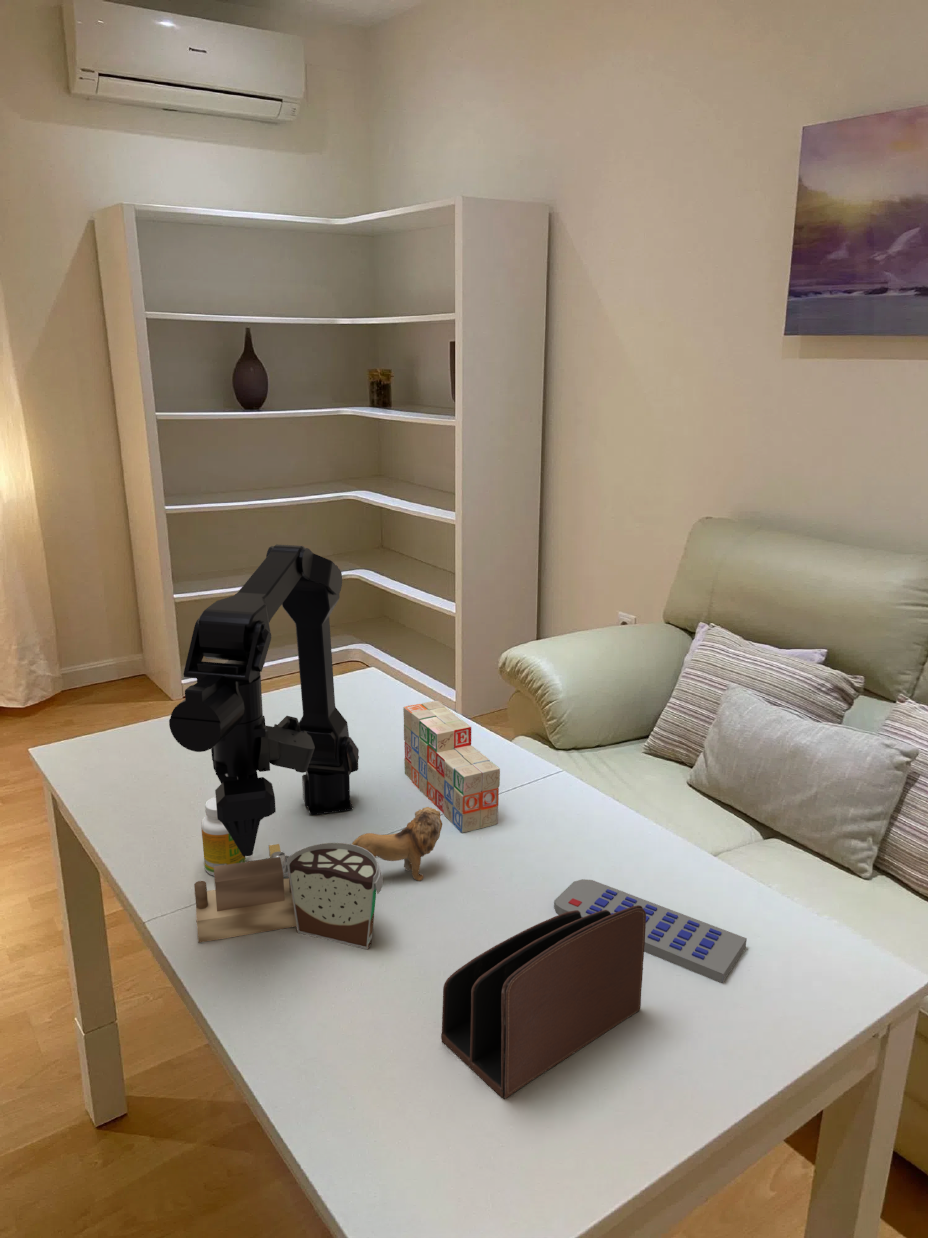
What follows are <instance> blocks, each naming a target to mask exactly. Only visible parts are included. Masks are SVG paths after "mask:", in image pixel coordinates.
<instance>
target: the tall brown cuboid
mask: <svg viewBox="0 0 928 1238" xmlns="http://www.w3.org/2000/svg"><path fill="white" fill-rule="evenodd" d="M268 858H269V859H268ZM268 858H264V859H257V860H250V861H245V862H242V863H235V864H228V865H221V866H214V890H215V891H216V904H217V911H223V910H229V909H235V908H242V907H248V906H254V905H261V904H267V903H273V902H280V901H285V898H284V878H283V869H282V864H281V859H280V857H276V858H270V857H268Z"/></svg>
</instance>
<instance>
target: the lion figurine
mask: <svg viewBox="0 0 928 1238" xmlns="http://www.w3.org/2000/svg"><path fill="white" fill-rule="evenodd" d="M442 828H443V822H442V819H441V810H437V809H436V808H433V807H429V806H426V807H422V809H418V810H416V811H415V812H414V817H413V819H412V820H411V821H410V822H408V823H407V824H406V827H404V828H403V829H402V830H401V831H399V832H396V833H391V834H389V833H388V834H377V833H372V832H371V833H370V832H369V833H363V834H361V835H359V836H358V837H357V838H356V839H354V840H353V841H352V842H351V844H352V845H356V846H359V847H362V848H364V849H366V850H368V851H369V852H370V853H372V854H373V856H374V857H375V858H378V859H380V860H383V861H387V862H397V861H402V860H403V861H404V864H403V868H404V869H405V870H406V872H411V875H412V877H413V879H414V880H415V881H417V882H420V881H422V880H423V879H424V875H423V873H420V867H421V864H422V863H421V862H422V860H421V859H422V858H423V857H424V856H426V855H429V854H430V853H431V852H432V851H434V848H435V846H436V844H437V842H438V841H439V839H440V836H441V831H442Z"/></svg>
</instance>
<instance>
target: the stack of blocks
mask: <svg viewBox="0 0 928 1238" xmlns="http://www.w3.org/2000/svg"><path fill="white" fill-rule="evenodd" d="M402 708H403V709H402V710H403V740H404V759H403V761H404V775H405V776H407V778H408V779H409V780H410V781H411V783H413V785H414V786H415V787H416V788H417V789H418V790H419V791H420V792H421V794H423V796H425V797H426V798H428V800H429V801H430V802H431V803H433V805H434V806H436V807H437V809H438V810H439V811H440V812H441V813H442V814H443V815H444V816H445V817H446V819H448V820H449V822H450V823H452V824H453V826H454V827H455V828H456V829H457V830H458V831H459V832H460V833H461V834H462V833H467V832H471V831H475V830H479V829H483V828H488V827H490V826H491V827H492V826H495V825H498V820H499V819H498V818H499V796H500V795H499V794H500V793H499V791H500V786H501V784H500V783H501V782H500V781H501V768H500V767H499V766H497V765H496V764H495V763H494V762H493V761H491V760H490V759H489V758H488V757H487V756H486V755H484V754H483V753H482V752H481V751H480V750H479V749H477V748H476V747H475V746H473V745H472V726H471V725H470V724H468V723H467V722H466V721H464V720H462V719H461V718H460V717H459V716H458V715H456V714H455V713H454V712H453V711H451V710H450V709H449V708H447V707H446V706H445V705H444V704H443V703H442V702H441V701H439V700H433V701H428V702H422V703H417V704H410V705H407V706H403V707H402Z"/></svg>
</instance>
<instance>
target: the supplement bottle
mask: <svg viewBox="0 0 928 1238" xmlns="http://www.w3.org/2000/svg"><path fill="white" fill-rule="evenodd" d="M204 808H205V809H204V810H205V811H204V812H205V816H204V817H203V818H202V820H201V838H202V849H203V864H204V870H205V871H206V873H207V874H209V875H211V876H214V866H221V865H228V864H235V863H242V862H246V856H243V855H242V854H241V852H240V850H239V849H238V847H237V846H236V844H235V842H234V841H233V839H232V837H231V836H230V834H229V833H228V831H227V830H226V828H225V826H224V825H223V823H222V822H220V821H219V820H218V818H217V807H216V796H213V797H211V798H209V799H208V800H206V802H205V806H204Z"/></svg>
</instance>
